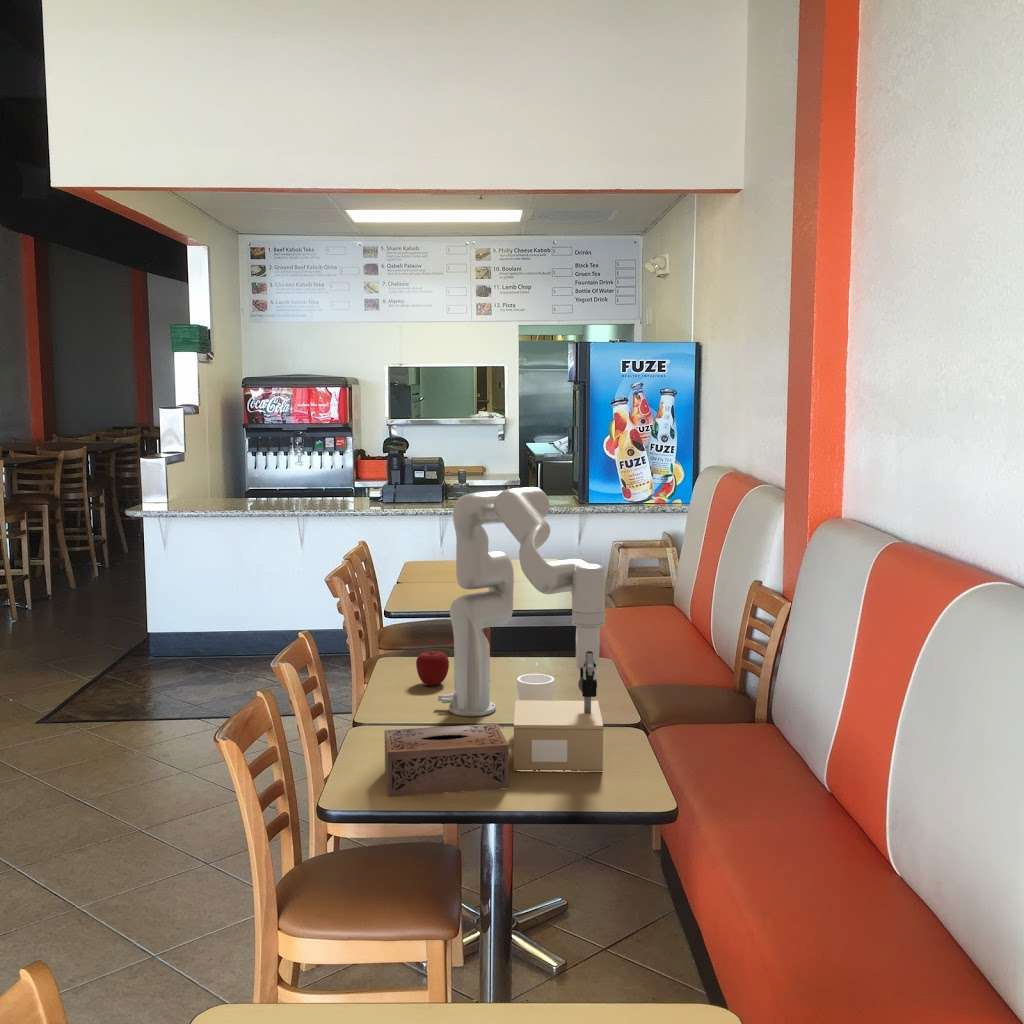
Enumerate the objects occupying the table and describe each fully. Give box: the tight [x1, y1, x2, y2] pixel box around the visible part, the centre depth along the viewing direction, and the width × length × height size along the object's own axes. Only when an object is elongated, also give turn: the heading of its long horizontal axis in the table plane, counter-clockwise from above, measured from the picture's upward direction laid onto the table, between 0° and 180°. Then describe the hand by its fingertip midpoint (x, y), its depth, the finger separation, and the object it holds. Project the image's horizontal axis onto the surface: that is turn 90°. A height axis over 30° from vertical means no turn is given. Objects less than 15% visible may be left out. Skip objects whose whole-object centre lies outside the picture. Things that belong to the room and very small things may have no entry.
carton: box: [513, 727, 604, 772], centre depth 237 cm, size 20×18×10 cm
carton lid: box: [513, 677, 604, 730], centre depth 236 cm, size 20×18×10 cm
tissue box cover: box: [384, 723, 510, 798], centre depth 224 cm, size 26×14×10 cm, turn 100°
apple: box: [415, 650, 450, 687], centre depth 298 cm, size 10×10×10 cm
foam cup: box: [516, 673, 555, 701], centre depth 258 cm, size 10×9×13 cm
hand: (588, 690), depth 236 cm, fingers open, 9 cm apart
